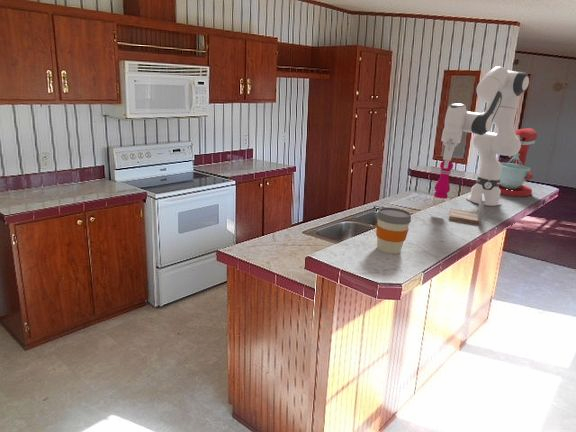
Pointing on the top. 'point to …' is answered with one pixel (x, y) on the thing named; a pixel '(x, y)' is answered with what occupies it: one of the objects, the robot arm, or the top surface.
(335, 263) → the top surface
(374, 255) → the top surface
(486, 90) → the robot arm
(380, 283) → the top surface
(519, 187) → the stand mixer
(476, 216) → the bookend
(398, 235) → the reusable coffee cup
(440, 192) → the pepper mill
